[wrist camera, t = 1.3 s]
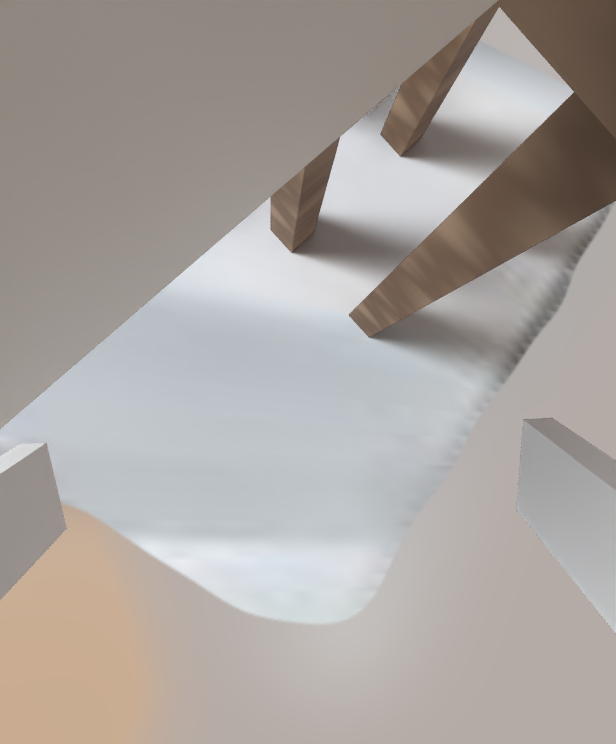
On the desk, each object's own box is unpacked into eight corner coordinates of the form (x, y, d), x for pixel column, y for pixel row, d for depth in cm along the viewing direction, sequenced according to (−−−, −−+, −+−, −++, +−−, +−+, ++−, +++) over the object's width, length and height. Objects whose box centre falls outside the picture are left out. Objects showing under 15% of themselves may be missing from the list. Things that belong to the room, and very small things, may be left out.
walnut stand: (255, 237, 33) (176, -614, 5) (401, 110, 34) (952, -1069, 7) (359, 351, 33) (826, 138, 5) (499, 220, 35) (1420, -470, 7)
